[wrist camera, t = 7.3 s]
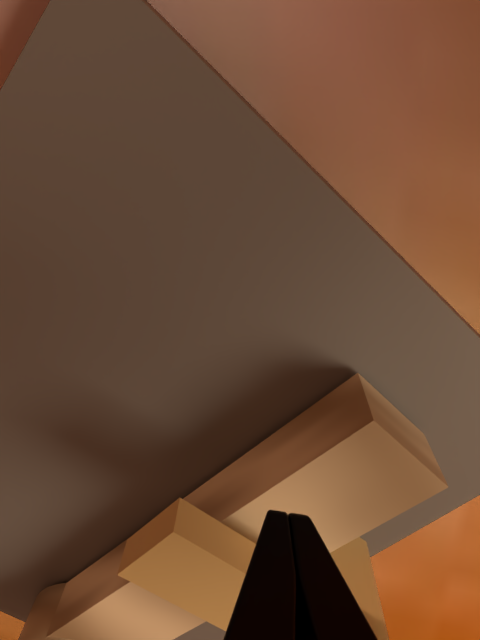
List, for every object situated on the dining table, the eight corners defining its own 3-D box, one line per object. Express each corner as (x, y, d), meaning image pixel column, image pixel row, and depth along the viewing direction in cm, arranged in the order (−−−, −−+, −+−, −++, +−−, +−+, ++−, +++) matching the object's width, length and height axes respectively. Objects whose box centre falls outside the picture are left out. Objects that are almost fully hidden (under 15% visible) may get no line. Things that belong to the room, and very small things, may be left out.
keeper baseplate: (159, 652, 23) (136, 787, 19) (-202, 481, 18) (-352, 613, 13) (556, 412, 15) (682, 553, 10) (102, -44, 10) (-33, -147, 5)
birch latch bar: (93, 646, 20) (78, 700, 19) (17, 608, 19) (-8, 662, 17) (431, 441, 14) (456, 494, 12) (348, 364, 13) (363, 410, 11)
